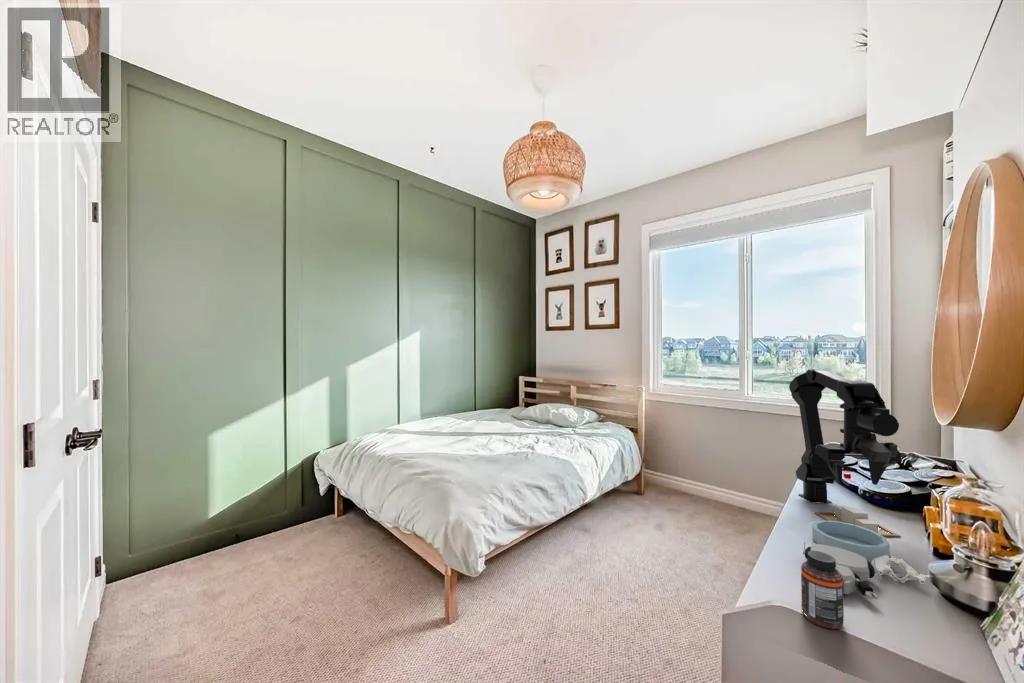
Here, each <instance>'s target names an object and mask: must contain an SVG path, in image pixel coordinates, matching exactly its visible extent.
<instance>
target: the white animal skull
mask: <svg viewBox="0 0 1024 683" xmlns="http://www.w3.org/2000/svg"><path fill="white" fill-rule="evenodd" d="M870 563H871V564H872V566H873V567H874V562H873V560H872V561H870ZM875 565H876V570H877V574H879V575H881V576H884V575H886V576H889V577H890V578H891V579H892V581H894V582H895V581H896V582H898V583H902V584H905V583H906V582H908V581H918V582H919V584H921V585H924V584H925V583H926V580H927V578H926V576H925V575H924V574H922V573H918V571H917V570H916V569H914V568H913V567H912V566H911V565H909V564H908V563H907V562H905V560H904V559H903V558H900V559H899V558H896V557H894V556H893V555H891V557H888V556H887V555H884V556H881V557H878V558H876V559H875ZM891 567H892V568H894V569H895V568H898V567H899V568H901V569H903V570H905V572H906V575H905V576H903V577H901V578H900V577H898V576H897V574H895V573H894V571H893V569H892V568H891ZM874 569H875V568H874Z"/></svg>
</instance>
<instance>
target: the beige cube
mask: <svg viewBox="0 0 1024 683" xmlns="http://www.w3.org/2000/svg"><path fill="white" fill-rule="evenodd" d="M855 519H869V513H868V512H866V511H863V510H862V509H860V508H858V507H856V506H847V507H842V521H843V522H845V523H849V524H854V525H855Z"/></svg>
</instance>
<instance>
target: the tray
mask: <svg viewBox="0 0 1024 683" xmlns="http://www.w3.org/2000/svg"><path fill="white" fill-rule="evenodd" d="M813 514H815V515H816V516H818V517H820V518H822V519H823V520H827V521H839V522H843V521H842V519H840V518H838V517H837V516H834V511H833V512H830V511H828V512H826V511H813ZM844 523H845V522H844ZM875 523H876V524H878V527H879V528H881V529H880V530H879V531H878V534H880V535H882V536H883V537H885V538H895V537H897V538H898V537H901V538H902V536H901V535H900V534H898V533H896V532H894V531H892V530H890V529H888V528H887V527H884V526H883V525H880V524H879V523H877V522H875ZM883 531H884V532H883ZM885 532H886V533H885ZM888 532H889V533H890V534H889V533H888ZM887 533H888V534H887ZM897 538H896V539H897Z"/></svg>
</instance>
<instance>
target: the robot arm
mask: <svg viewBox="0 0 1024 683" xmlns="http://www.w3.org/2000/svg"><path fill="white" fill-rule="evenodd" d="M788 387H789V388H788V389H789V391H790V393H791V394H790V395H791V397H792V399H793V401H794V402H795V403H796V404H797V405H798V406H799V413H800V420H801V426H802V432H803V438H804V446H805V450H804V453H803V454H802V456H801V464H800V465H799V466H798V468H797V469H796V470H795V477H796V479H798V480H800V481H802V483H803V488H802V491H803V493H799V494H798V496H799V497H801V498H803V499H804V500H806V501H808V502H809V501H810V502H809V503H812V502H824V503H823V504H833V502H832V501H831V500H829V499H828V488H827V487H828V484H832V485H833V484H834V483H835V481H836V483H837V484H839V485H841V484H842V482H843V466H844V465H845V464H846V461H845V460H844V459H845V458H846V457H865V458H866V460H867V461H868V467H869V474H870V479H871V480H870V481H871V483H872V485H874V486H877V485H878V483H879V481H880V479H881V478H882V476H883V474H884V473H885V471H886V469H888V467H890V466H892V465H896V464H897V462H900V463H901V462H902V458H903V457H902V456H903V455H902V454H901V453H900V451H899V449H898V445H897V444H896V443H895V442H887V441H886V442H879V441H878V440H877V435H878V436H882V437H891V436H894V435H895V434H897V432H898V430H899V428H900V423H899V422H898V419H897V417H895V416H894V415H892V414H891V412H890V411H891V410H890V409H889V408H887V406H886V402H885V401H884V399H883V398H882V396H881V394H880V392H879V391H878V389H877V387H876V386H875V384H873V382H869V381H862V380H854V379H852V380H851V379H849V378H845V377H844V376H841V375H839V374H835V373H834V372H830V371H829V370H828V369H826V368H810V369H807V370H806V371H805V372H804V373H802V374H799V375H797V376H795V377H794V378H793V379H792V380H791V381H790V382H789V385H788ZM826 388H827V389H829V390H831V391H834V392H835V393H836V397H837V398H838V399H840V400H841V401H842V402H843V403H841V404H840V405H839V408H840V409H843V428H840V429H839V432H840V433H842V434H843V442H840V443H839V447H838V446H835V445H833V444H824V438H823V432H822V424H821V418H820V414H819V407H818V406H819V402H820V400H821V399H822V398H823V393H822V392H823V391H824V390H826Z"/></svg>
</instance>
